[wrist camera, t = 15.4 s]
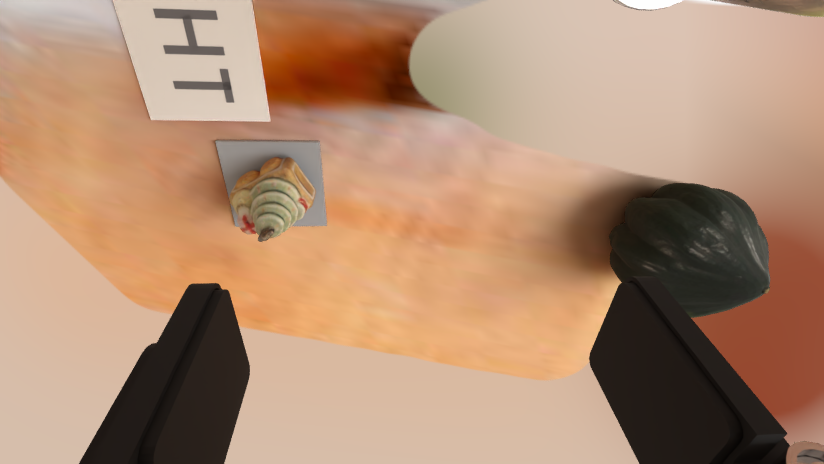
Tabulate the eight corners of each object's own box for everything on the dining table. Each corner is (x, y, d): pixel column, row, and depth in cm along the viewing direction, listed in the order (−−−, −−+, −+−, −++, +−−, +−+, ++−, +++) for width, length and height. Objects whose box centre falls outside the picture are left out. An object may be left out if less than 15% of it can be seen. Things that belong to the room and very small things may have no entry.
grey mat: (319, 140, 42) (319, 142, 42) (327, 224, 48) (326, 225, 47) (216, 139, 41) (215, 141, 41) (236, 224, 47) (235, 226, 47)
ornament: (267, 223, 47) (244, 283, 39) (227, 182, 44) (192, 238, 35) (325, 189, 45) (313, 244, 37) (286, 143, 42) (264, 192, 33)
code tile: (250, -10, 34) (249, -10, 34) (270, 120, 41) (270, 121, 40) (109, -15, 34) (107, -15, 33) (151, 119, 40) (150, 120, 40)
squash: (575, 298, 50) (718, 373, 41) (614, 183, 42) (802, 248, 33) (621, 253, 59) (746, 307, 50) (660, 151, 51) (817, 195, 42)
